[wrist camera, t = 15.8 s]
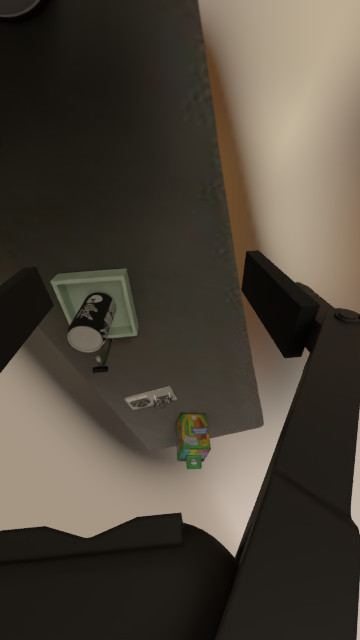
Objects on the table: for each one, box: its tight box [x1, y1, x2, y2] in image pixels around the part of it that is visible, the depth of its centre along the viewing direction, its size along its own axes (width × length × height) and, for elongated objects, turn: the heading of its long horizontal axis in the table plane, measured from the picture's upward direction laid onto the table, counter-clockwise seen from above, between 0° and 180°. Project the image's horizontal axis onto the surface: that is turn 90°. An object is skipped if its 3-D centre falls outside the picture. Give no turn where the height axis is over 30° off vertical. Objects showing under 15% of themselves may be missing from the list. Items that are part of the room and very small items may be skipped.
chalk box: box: [176, 413, 211, 469], centre depth 71 cm, size 9×9×15 cm
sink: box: [50, 268, 138, 338], centre depth 46 cm, size 15×14×4 cm
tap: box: [93, 338, 113, 373], centre depth 47 cm, size 4×3×12 cm
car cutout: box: [124, 386, 177, 410], centre depth 66 cm, size 15×7×4 cm, turn 108°
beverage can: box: [68, 292, 116, 352], centre depth 42 cm, size 7×7×12 cm
